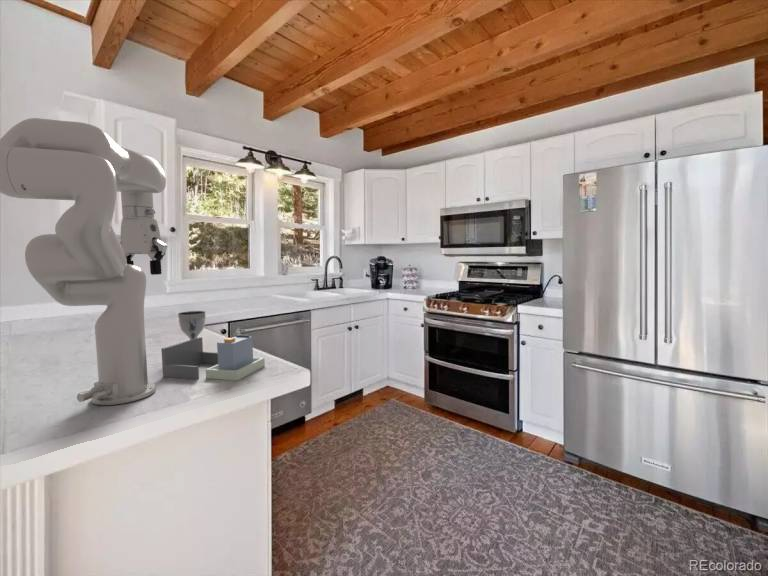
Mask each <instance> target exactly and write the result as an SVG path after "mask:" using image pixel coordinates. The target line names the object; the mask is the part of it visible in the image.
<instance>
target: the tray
mask: <svg viewBox="0 0 768 576" xmlns="http://www.w3.org/2000/svg"><path fill="white" fill-rule="evenodd" d="M265 362H266V361H265V357H255V356H253V362H252V363H250V364H248V365H246V366H244V367H242V368H240V369H238V370H222V369H218V364H214V365H213V366H211V367H208V368H206V369H205V378H206V379H211V380H212V379H213V380H226V381H233V382H234V381H237V382H238V381H239V380H241V379H243V378H245V377H246V376H249V375H251V374H252V373H255V372H256V371H258V370H260V369H262V368H264V367H266V366H265V365H266V363H265Z"/></svg>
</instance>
